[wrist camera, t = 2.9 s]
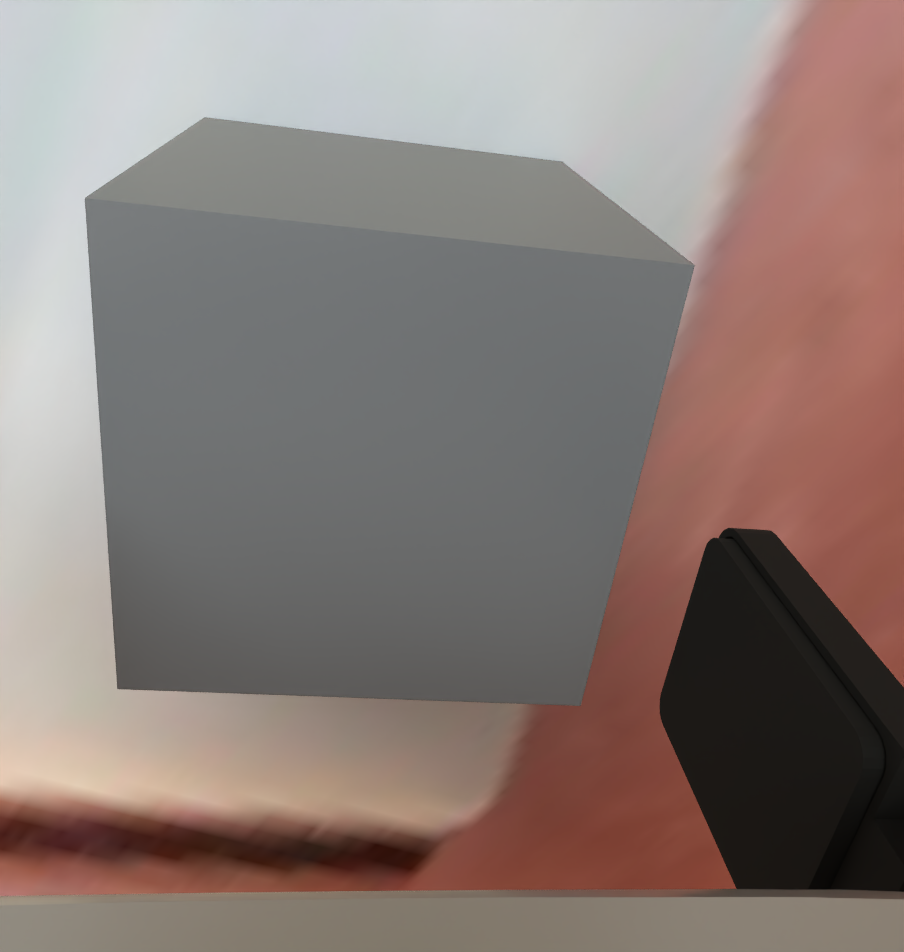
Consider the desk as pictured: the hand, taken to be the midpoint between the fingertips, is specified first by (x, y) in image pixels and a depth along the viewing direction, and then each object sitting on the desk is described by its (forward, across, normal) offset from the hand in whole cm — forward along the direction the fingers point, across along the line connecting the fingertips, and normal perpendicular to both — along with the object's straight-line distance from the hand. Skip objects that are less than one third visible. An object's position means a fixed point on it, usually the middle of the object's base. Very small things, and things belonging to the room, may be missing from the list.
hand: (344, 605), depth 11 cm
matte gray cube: (+11, -1, 0) cm, 11 cm away
